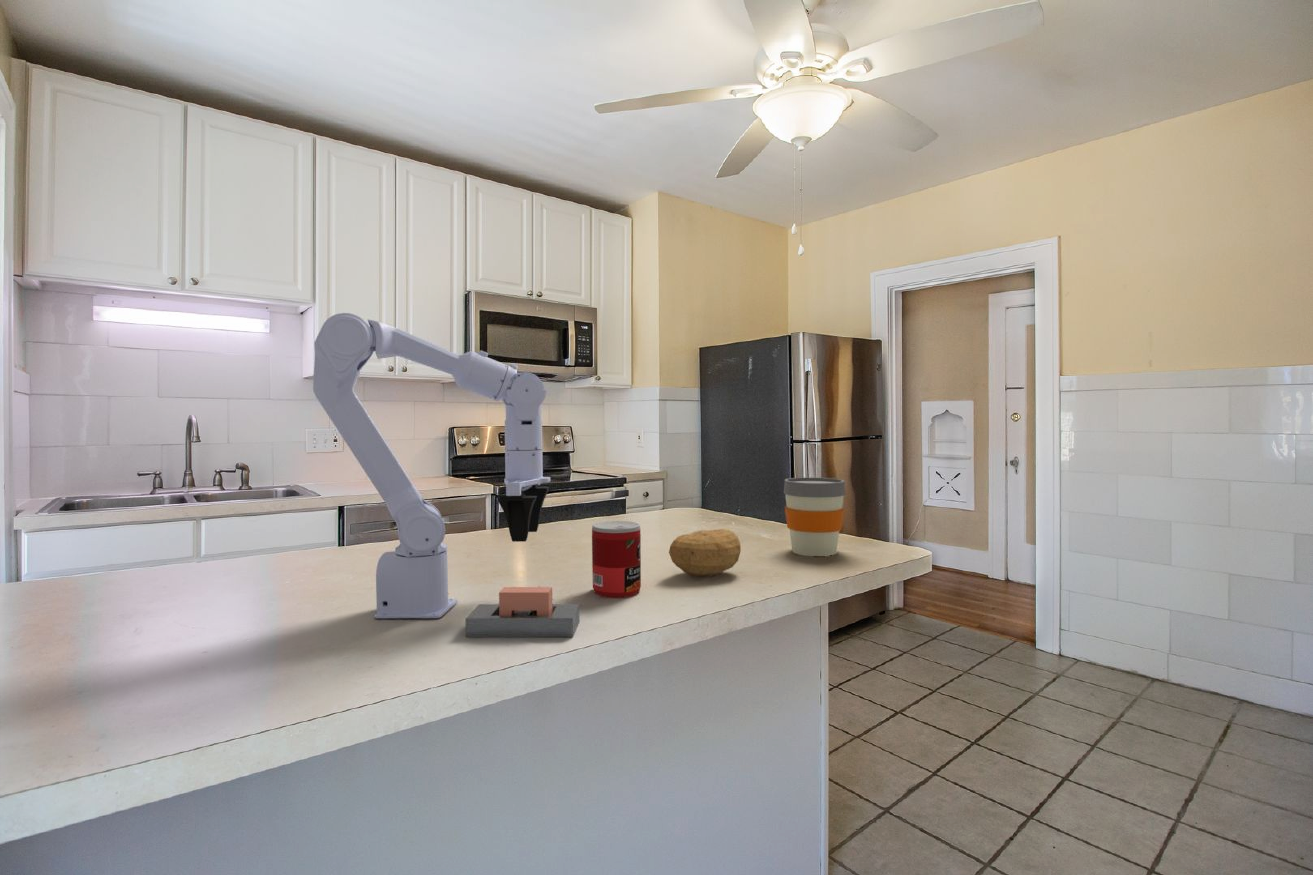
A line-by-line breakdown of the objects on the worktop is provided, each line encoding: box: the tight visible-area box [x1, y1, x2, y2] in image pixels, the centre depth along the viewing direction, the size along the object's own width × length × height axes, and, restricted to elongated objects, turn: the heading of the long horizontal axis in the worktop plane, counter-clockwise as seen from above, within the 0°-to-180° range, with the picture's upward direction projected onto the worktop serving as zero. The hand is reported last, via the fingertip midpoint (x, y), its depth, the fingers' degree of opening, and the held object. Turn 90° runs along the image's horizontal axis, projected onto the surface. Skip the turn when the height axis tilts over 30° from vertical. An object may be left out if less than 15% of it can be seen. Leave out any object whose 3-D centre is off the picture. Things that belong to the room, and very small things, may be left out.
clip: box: [498, 586, 553, 616], centre depth 84 cm, size 7×3×5 cm, turn 89°
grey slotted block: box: [465, 603, 581, 638], centre depth 84 cm, size 14×6×2 cm, turn 89°
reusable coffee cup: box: [783, 477, 846, 557], centre depth 130 cm, size 13×13×15 cm
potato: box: [668, 528, 742, 578], centre depth 111 cm, size 10×14×8 cm
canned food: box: [591, 520, 642, 599], centre depth 101 cm, size 8×8×11 cm
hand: (525, 536), depth 98 cm, fingers open, 7 cm apart
